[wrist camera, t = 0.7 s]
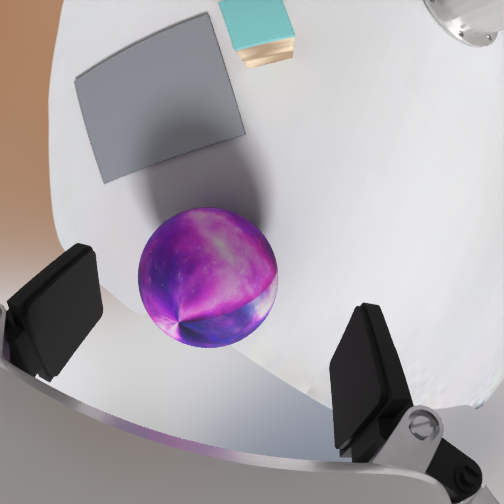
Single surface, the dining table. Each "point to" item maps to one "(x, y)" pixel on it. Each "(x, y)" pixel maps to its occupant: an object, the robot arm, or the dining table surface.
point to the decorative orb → (208, 277)
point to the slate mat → (158, 100)
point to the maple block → (259, 30)
